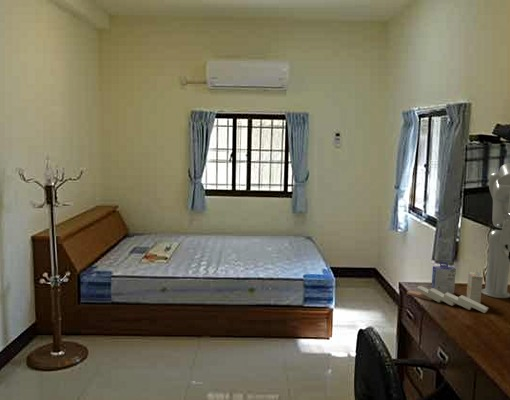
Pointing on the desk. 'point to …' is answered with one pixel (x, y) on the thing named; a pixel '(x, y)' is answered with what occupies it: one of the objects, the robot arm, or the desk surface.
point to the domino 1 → (418, 294)
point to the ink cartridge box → (443, 278)
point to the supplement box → (474, 286)
